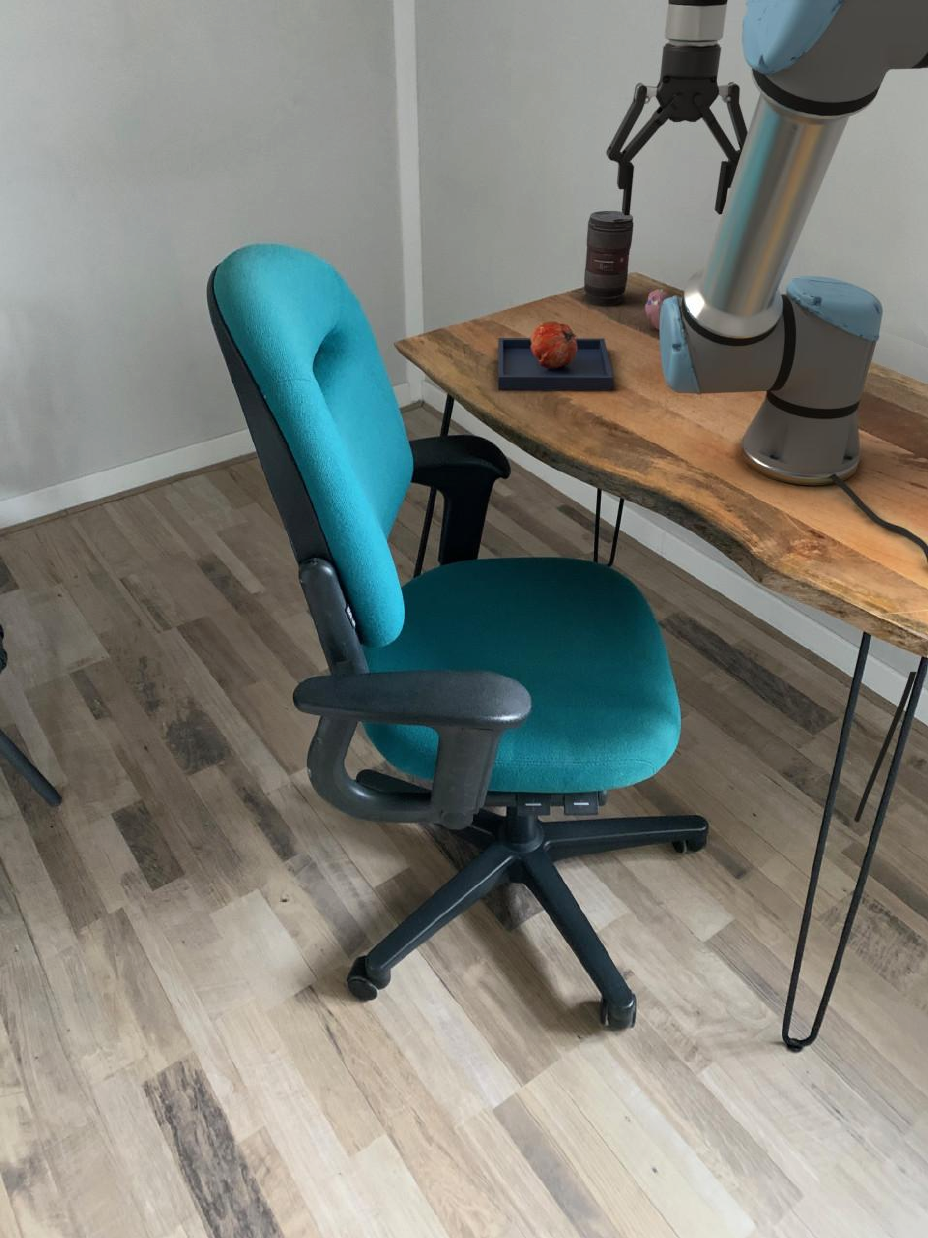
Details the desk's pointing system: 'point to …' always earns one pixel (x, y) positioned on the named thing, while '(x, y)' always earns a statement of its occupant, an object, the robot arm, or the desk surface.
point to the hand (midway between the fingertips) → (672, 212)
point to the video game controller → (655, 306)
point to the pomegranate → (553, 344)
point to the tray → (528, 374)
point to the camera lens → (607, 256)
